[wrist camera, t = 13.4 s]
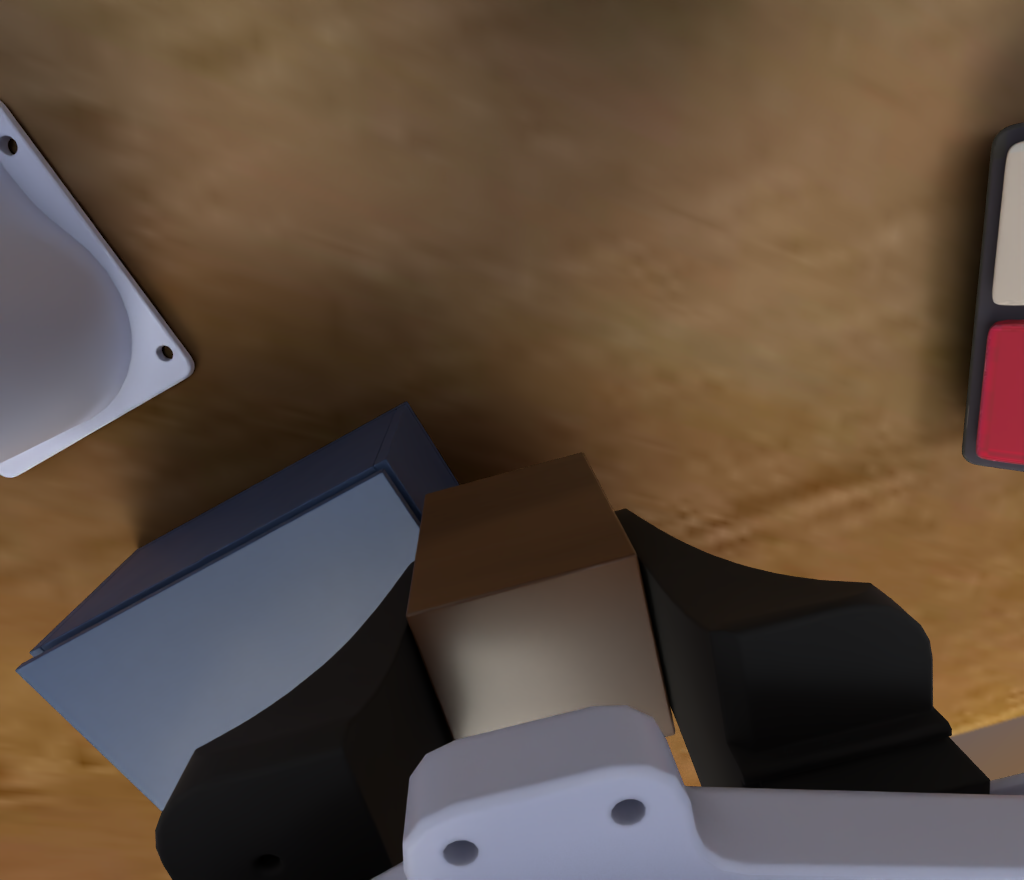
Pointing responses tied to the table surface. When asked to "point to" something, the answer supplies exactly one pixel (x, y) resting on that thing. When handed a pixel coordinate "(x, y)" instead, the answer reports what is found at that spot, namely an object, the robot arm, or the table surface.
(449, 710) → the block
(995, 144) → the flat plastic case
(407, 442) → the carton
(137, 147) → the table surface
